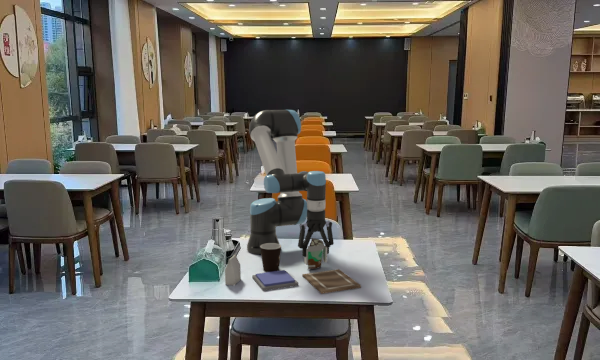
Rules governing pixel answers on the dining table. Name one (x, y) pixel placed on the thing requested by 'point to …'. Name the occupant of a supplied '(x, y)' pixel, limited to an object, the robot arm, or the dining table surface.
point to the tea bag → (232, 271)
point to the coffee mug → (270, 256)
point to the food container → (315, 253)
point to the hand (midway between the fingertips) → (315, 262)
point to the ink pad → (274, 280)
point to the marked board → (331, 281)
